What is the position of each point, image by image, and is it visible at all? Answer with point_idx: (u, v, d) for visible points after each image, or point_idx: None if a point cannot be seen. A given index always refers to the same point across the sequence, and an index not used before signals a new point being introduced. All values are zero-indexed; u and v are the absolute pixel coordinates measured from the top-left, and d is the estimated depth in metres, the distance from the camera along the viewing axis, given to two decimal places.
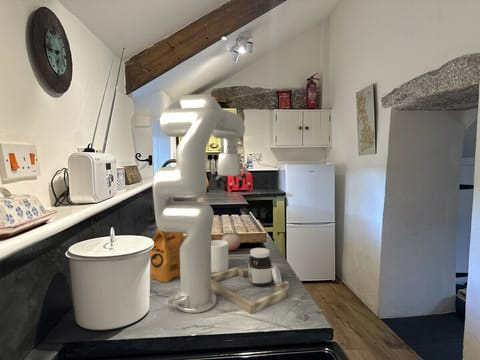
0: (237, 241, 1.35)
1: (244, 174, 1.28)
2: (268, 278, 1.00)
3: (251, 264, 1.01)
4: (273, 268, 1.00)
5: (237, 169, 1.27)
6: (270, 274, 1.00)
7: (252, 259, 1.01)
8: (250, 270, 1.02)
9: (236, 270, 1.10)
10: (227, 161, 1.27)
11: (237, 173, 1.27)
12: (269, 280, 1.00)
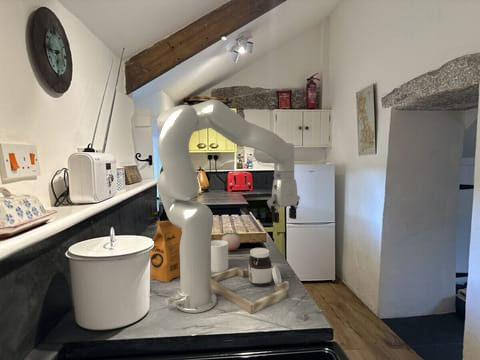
0: (237, 241, 1.35)
1: (297, 202, 1.14)
2: (268, 278, 1.00)
3: (251, 264, 1.01)
4: (273, 268, 1.00)
5: (296, 197, 1.10)
6: (270, 274, 1.00)
7: (252, 259, 1.01)
8: (250, 270, 1.02)
9: (236, 270, 1.10)
10: (289, 189, 1.07)
11: (296, 202, 1.10)
12: (269, 280, 1.00)
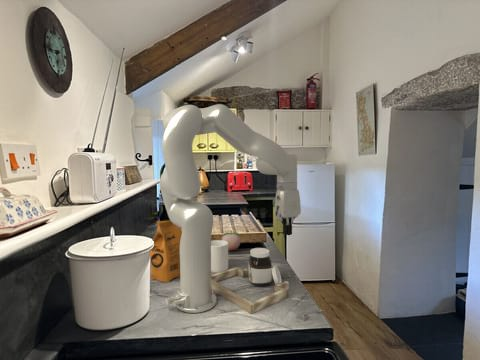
0: (237, 241, 1.35)
1: (293, 217, 1.11)
2: (268, 278, 1.00)
3: (251, 264, 1.01)
4: (273, 268, 1.00)
5: (299, 208, 1.10)
6: (270, 274, 1.00)
7: (252, 259, 1.01)
8: (250, 270, 1.02)
9: (236, 270, 1.10)
10: (292, 200, 1.07)
11: (300, 212, 1.10)
12: (269, 280, 1.00)
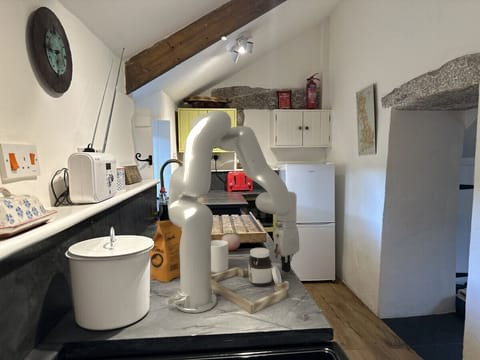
0: (237, 241, 1.35)
1: (292, 253, 1.11)
2: (268, 278, 1.00)
3: (251, 264, 1.01)
4: (273, 268, 1.00)
5: (298, 245, 1.11)
6: (270, 274, 1.00)
7: (252, 259, 1.01)
8: (250, 270, 1.02)
9: (236, 270, 1.10)
10: (291, 238, 1.08)
11: (298, 249, 1.11)
12: (269, 280, 1.00)
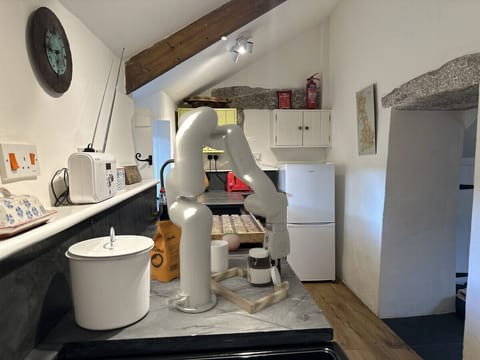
0: (237, 241, 1.35)
1: (282, 256, 1.08)
2: (267, 278, 0.99)
3: (250, 264, 1.01)
4: (272, 268, 1.00)
5: (289, 247, 1.07)
6: (269, 274, 0.99)
7: (251, 259, 1.01)
8: (249, 270, 1.02)
9: (236, 270, 1.10)
10: (281, 241, 1.04)
11: (289, 252, 1.07)
12: (268, 280, 1.00)
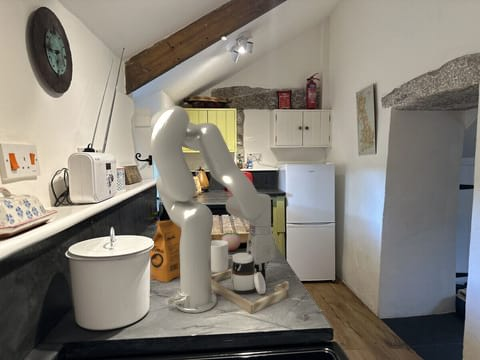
0: (237, 241, 1.35)
1: (267, 261, 1.03)
2: (250, 285, 0.94)
3: (233, 270, 0.96)
4: (256, 275, 0.95)
5: (274, 251, 1.02)
6: (252, 281, 0.94)
7: (234, 265, 0.96)
8: (232, 276, 0.97)
9: None
10: (265, 245, 0.99)
11: (274, 256, 1.02)
12: (251, 287, 0.94)
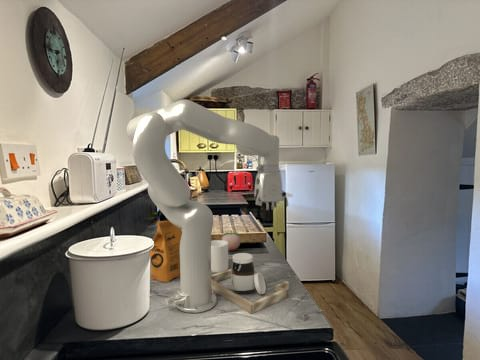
0: (237, 241, 1.35)
1: (274, 202, 1.05)
2: (250, 285, 0.94)
3: (233, 270, 0.96)
4: (256, 275, 0.95)
5: (281, 193, 1.05)
6: (252, 281, 0.94)
7: (234, 265, 0.96)
8: (232, 276, 0.97)
9: None
10: (272, 184, 1.02)
11: (281, 197, 1.05)
12: (251, 288, 0.94)
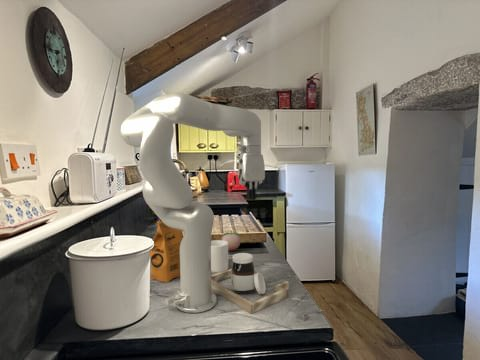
0: (237, 241, 1.35)
1: (257, 182, 1.10)
2: (250, 285, 0.94)
3: (233, 270, 0.96)
4: (256, 275, 0.95)
5: (263, 173, 1.09)
6: (252, 281, 0.94)
7: (234, 265, 0.96)
8: (232, 276, 0.97)
9: None
10: (255, 164, 1.06)
11: (264, 177, 1.09)
12: (251, 287, 0.94)
